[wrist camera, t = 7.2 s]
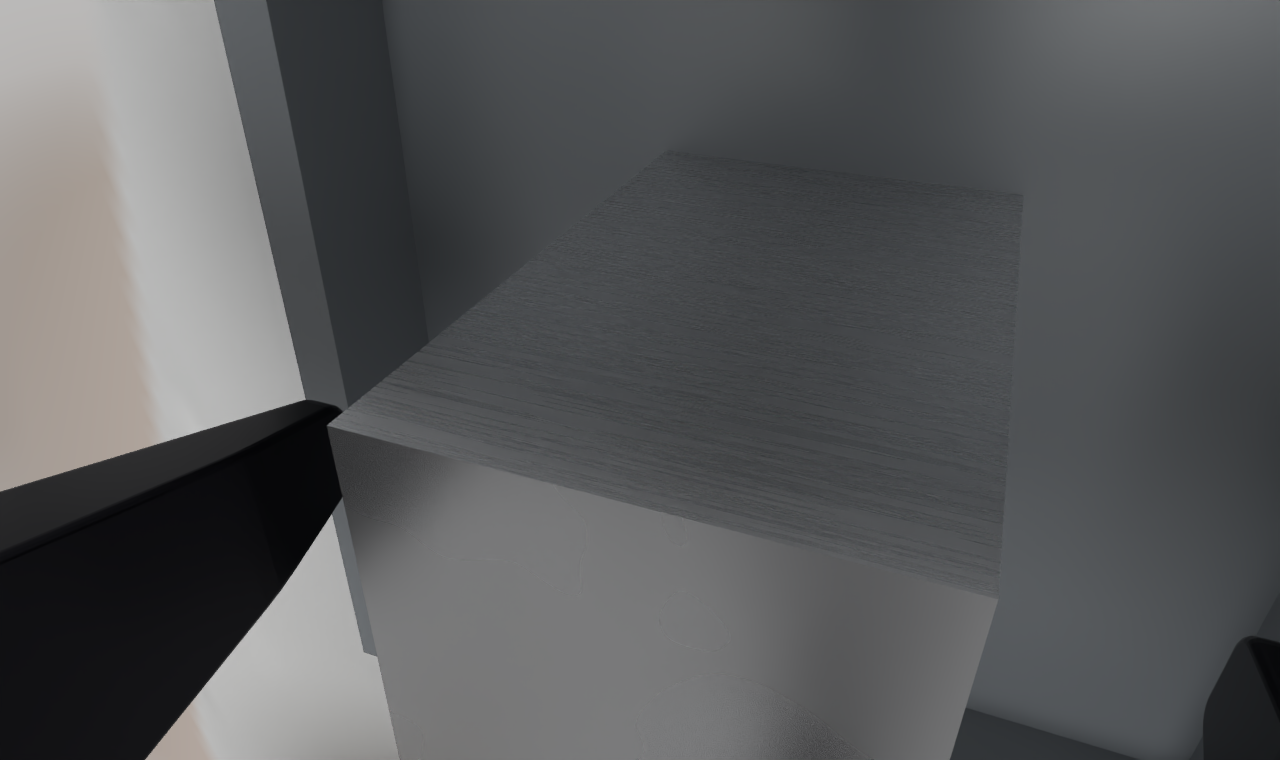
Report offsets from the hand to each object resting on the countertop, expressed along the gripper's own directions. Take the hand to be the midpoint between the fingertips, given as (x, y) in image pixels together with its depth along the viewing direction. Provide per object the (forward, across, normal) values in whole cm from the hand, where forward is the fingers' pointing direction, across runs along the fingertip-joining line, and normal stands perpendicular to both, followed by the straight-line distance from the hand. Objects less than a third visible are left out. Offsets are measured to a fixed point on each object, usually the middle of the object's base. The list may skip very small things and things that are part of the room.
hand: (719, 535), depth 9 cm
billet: (+4, 0, 0) cm, 5 cm away
